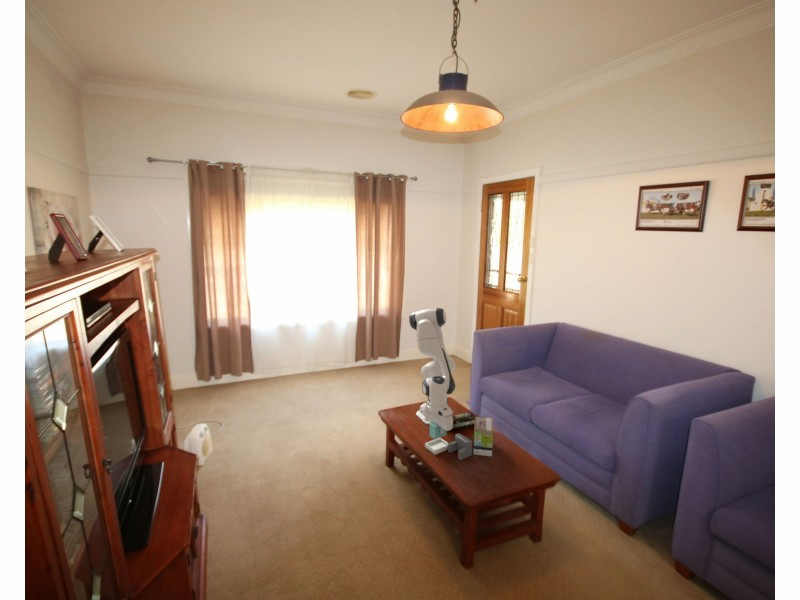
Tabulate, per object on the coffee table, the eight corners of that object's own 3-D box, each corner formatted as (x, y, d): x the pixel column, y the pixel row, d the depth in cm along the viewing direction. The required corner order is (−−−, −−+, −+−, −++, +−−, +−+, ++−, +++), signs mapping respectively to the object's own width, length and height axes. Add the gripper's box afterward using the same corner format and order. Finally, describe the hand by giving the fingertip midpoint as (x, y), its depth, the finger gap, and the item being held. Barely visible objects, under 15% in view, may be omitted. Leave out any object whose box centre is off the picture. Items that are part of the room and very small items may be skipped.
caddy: (429, 435, 213) (429, 423, 212) (440, 431, 218) (440, 419, 217) (434, 439, 210) (434, 427, 208) (446, 434, 214) (446, 422, 213)
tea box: (492, 457, 207) (493, 431, 204) (473, 454, 209) (474, 428, 206) (491, 442, 222) (493, 417, 219) (473, 440, 224) (474, 415, 221)
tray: (424, 447, 216) (424, 443, 215) (439, 441, 222) (439, 437, 221) (434, 454, 209) (435, 450, 208) (450, 448, 215) (450, 444, 214)
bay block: (447, 451, 212) (448, 437, 211) (458, 446, 217) (459, 432, 215) (460, 460, 204) (461, 445, 203) (471, 455, 209) (472, 441, 207)
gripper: (421, 401, 218) (421, 425, 220) (445, 415, 201) (445, 440, 203) (430, 399, 221) (430, 422, 223) (455, 412, 204) (454, 437, 207)
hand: (437, 431), depth 213 cm, fingers closed on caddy, 5 cm apart
